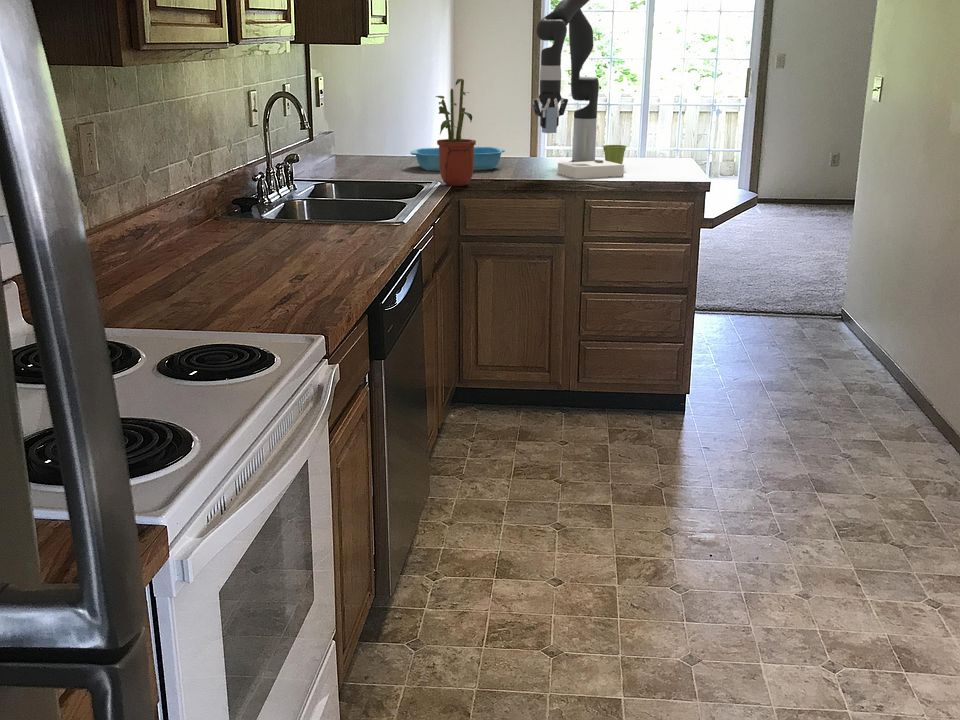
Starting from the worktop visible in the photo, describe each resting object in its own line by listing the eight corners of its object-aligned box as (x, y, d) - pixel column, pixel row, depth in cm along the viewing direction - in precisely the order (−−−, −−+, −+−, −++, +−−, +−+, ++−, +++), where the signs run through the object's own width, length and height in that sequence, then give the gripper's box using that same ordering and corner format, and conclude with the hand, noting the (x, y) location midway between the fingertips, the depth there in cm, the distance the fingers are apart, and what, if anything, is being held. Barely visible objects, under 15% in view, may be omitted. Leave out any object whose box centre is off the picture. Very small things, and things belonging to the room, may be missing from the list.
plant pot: (597, 169, 372) (598, 146, 370) (606, 166, 380) (607, 144, 377) (620, 170, 368) (621, 147, 365) (629, 168, 376) (630, 145, 373)
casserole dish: (413, 172, 361) (413, 153, 359) (407, 165, 382) (407, 147, 380) (510, 171, 368) (510, 152, 365) (498, 164, 389) (498, 145, 386)
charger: (541, 132, 352) (542, 106, 350) (551, 131, 354) (552, 106, 351) (546, 133, 349) (546, 107, 346) (556, 132, 350) (557, 107, 347)
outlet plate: (557, 173, 359) (558, 160, 358) (605, 171, 366) (605, 158, 365) (574, 178, 347) (575, 164, 346) (623, 175, 354) (624, 162, 353)
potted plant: (483, 184, 332) (483, 78, 321) (457, 189, 319) (457, 79, 308) (441, 180, 341) (440, 77, 330) (415, 185, 328) (413, 78, 317)
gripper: (564, 78, 351) (562, 126, 357) (528, 78, 346) (527, 127, 352) (573, 78, 344) (571, 128, 350) (536, 79, 340) (535, 129, 345)
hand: (549, 127), depth 351 cm, fingers closed on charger, 4 cm apart
